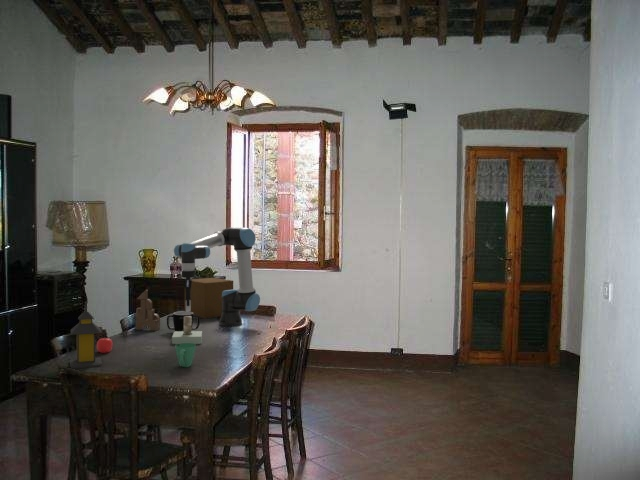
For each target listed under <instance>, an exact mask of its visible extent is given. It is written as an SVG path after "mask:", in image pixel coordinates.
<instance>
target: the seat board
mask: <svg viewBox="0 0 640 480" xmlns="http://www.w3.org/2000/svg"><path fill="white" fill-rule="evenodd" d="M173 331H174V332H173V333H172V336H171V344H172V345H176V344H178V345H179V344H180V343H193V344H196V345H198V344H199V345H200V344H201V345H202V341H203V331H202V330H192V331H191V335H184V331H175V330H173Z"/></svg>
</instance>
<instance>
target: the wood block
mask: <svg viewBox="0 0 640 480" xmlns="http://www.w3.org/2000/svg"><path fill="white" fill-rule="evenodd" d="M190 280H192V283H191V298H192V299H191V311H189V312H193V315H196V316H199V318H201V319H205V320H206V319H213V318H220V317H221V314H222V292H223V291H225V290H233V289H234V280H232V279H231V280H230V279H224V278H216V277H207V278H205V277H204V278H194V279H191V278H190ZM185 298H186V288H185V287H184V312H186V300H185Z"/></svg>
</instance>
